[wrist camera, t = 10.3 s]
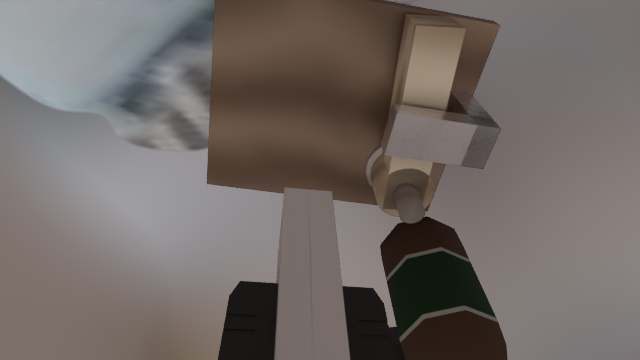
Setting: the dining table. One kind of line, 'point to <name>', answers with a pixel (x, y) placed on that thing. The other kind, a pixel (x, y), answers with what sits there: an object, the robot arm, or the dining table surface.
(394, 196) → the link
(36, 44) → the dining table surface
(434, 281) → the beer bottle
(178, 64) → the dining table surface
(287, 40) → the base plate
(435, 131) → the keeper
